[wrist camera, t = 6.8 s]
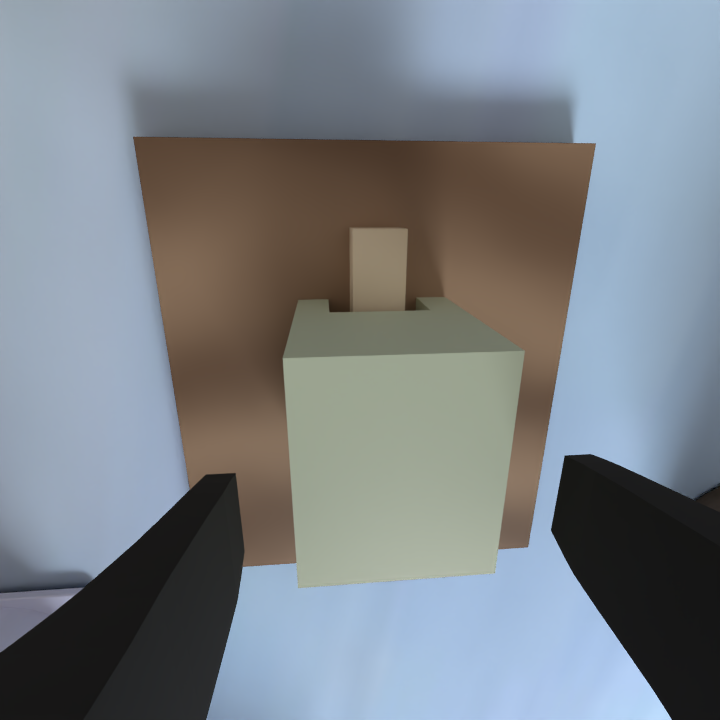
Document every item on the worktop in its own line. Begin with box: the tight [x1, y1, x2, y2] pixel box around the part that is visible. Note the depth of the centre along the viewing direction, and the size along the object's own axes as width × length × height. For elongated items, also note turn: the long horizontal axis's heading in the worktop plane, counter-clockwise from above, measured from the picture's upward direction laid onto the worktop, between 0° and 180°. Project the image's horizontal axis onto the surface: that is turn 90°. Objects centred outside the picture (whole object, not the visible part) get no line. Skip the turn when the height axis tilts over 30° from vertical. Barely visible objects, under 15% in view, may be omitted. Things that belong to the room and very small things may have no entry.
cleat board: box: [133, 137, 596, 567], centre depth 15 cm, size 16×14×3 cm
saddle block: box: [283, 297, 525, 588], centre depth 12 cm, size 6×5×6 cm
